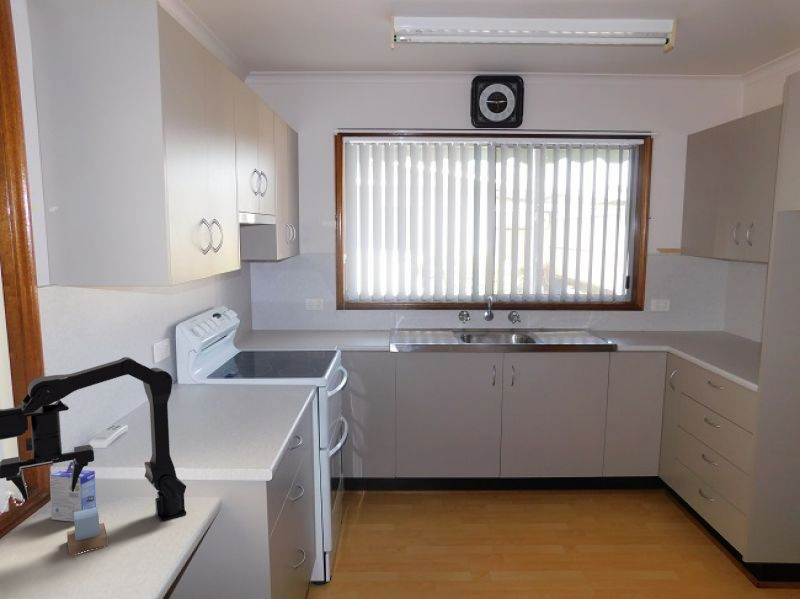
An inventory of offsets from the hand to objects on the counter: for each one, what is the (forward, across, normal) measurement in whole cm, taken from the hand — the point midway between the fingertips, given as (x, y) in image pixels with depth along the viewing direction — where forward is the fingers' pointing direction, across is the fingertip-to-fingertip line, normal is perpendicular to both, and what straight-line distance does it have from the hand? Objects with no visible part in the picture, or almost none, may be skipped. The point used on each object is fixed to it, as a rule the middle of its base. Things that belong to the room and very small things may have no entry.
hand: (50, 495), depth 130 cm
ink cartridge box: (+13, -5, -16) cm, 21 cm away
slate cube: (+10, -7, +2) cm, 13 cm away
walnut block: (+14, -7, +2) cm, 15 cm away
